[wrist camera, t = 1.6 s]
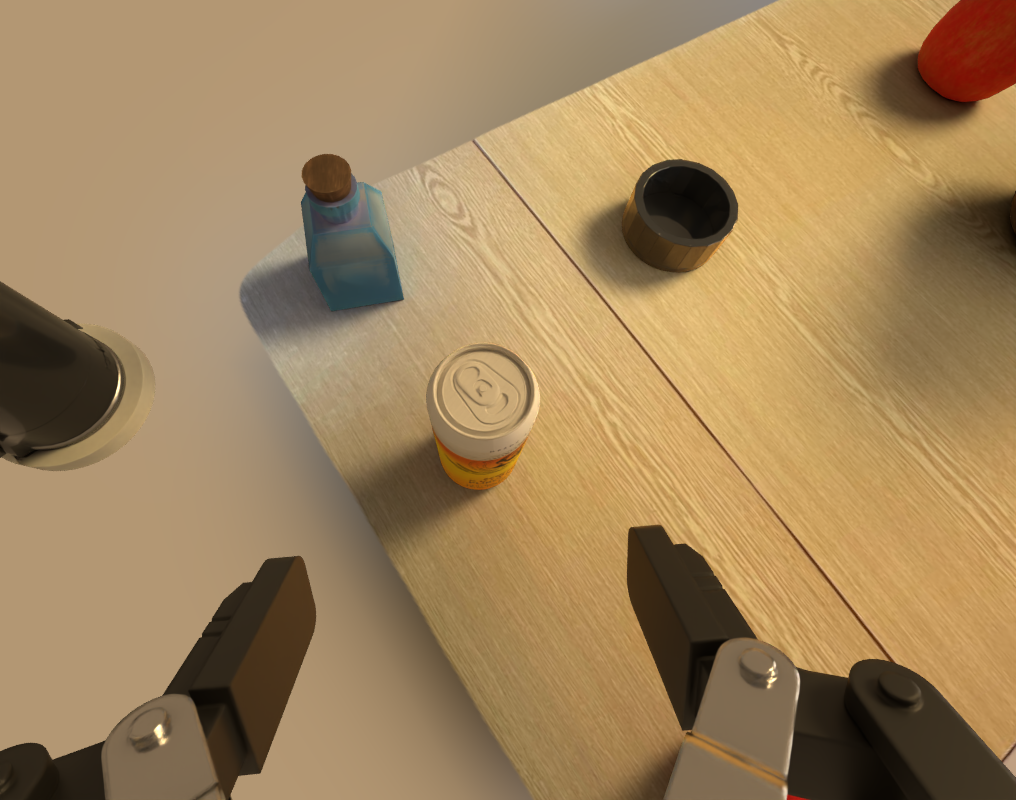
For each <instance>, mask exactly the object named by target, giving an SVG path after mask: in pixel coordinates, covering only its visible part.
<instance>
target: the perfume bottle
mask: <svg viewBox="0 0 1016 800" xmlns="http://www.w3.org/2000/svg"><path fill="white" fill-rule="evenodd" d="M302 178H303V181H304V183H305V184H306V186H305V191H306V193H305V195H304V197H303V199H302V201H301V207H302V215H303V223H304V230H305V238H306V246H307V254H308V262H309V269H310V272H311V274H312V276H313V278H314V280H315V282H316V283H317V285H318V287H319V289H320V291H321V293H322V295H323V297H324V298H325V300H326V302H327V304H328V306H329V308H330V310H331V311H336V310H342V309H348V308H354V307H361V306H367V305H373V304H379V303H385V302H391V301H397V300H403V299H404V298H403V293H402V287H401V282H400V277H399V272H398V266H397V261H396V256H395V251H394V245H393V240H392V236H391V231H390V227H389V223H388V218H387V214H386V210H385V205H384V201H383V197H382V192H381V191H379V190H377V189H375V188H373V187H372V186H370V185H368V184H366V183H364V182H358V183H357V182H356V179H355V177H354V176H353V175H352V173H351V169H350V166H349V164H348V163H347V162H346V161H345V160H344V159H343V158H341V157H339V156H336V155H333V154H322V155H318V156H316V157H314V158H312V159H310V160H309V161H308V162H307V163H306V164H305V165H304V167H303V170H302Z"/></svg>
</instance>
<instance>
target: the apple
mask: <svg viewBox="0 0 1016 800" xmlns="http://www.w3.org/2000/svg"><path fill="white" fill-rule="evenodd" d="M918 70H919V72H920V74H921V76H922V78H923V80H924V81H925V82H926V83H927V84H928V85H929V86H930V87H931V88H932V89H933V90H934V91H936V92H937V93H939V94H940V95H942V96H943V97H945V98H948V99H952V100H955V101H959V102H969V101H979V100H982V99H986V98H989V97H991V96H993V95H995V94H997V93H999V92H1001V91H1003V90H1005V89H1006V88H1008V87H1010V86H1012V85H1014V84H1015V83H1016V0H960V1H959V2H958V3H957V4H956V5H955V6H953V7H952V8H951V9H950V10H949V11H948V12H947V14H946V15H945V16H944V17H943V18H942V19H941V20H940V21H939V22H938V23H937V24H936V25H935V26H934V28H933V29H932V30H931V32H930V33H929V35H928V36H927V38H926V39H925V41H924V42H923V45H922V47H921V50H920V52H919V54H918Z"/></svg>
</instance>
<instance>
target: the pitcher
mask: <svg viewBox="0 0 1016 800" xmlns="http://www.w3.org/2000/svg"><path fill="white" fill-rule="evenodd" d="M1010 221H1011V224H1012V227H1013V230H1014V232H1015V234H1016V191H1015V195H1014V197H1013V199H1012V204H1011V211H1010Z"/></svg>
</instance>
